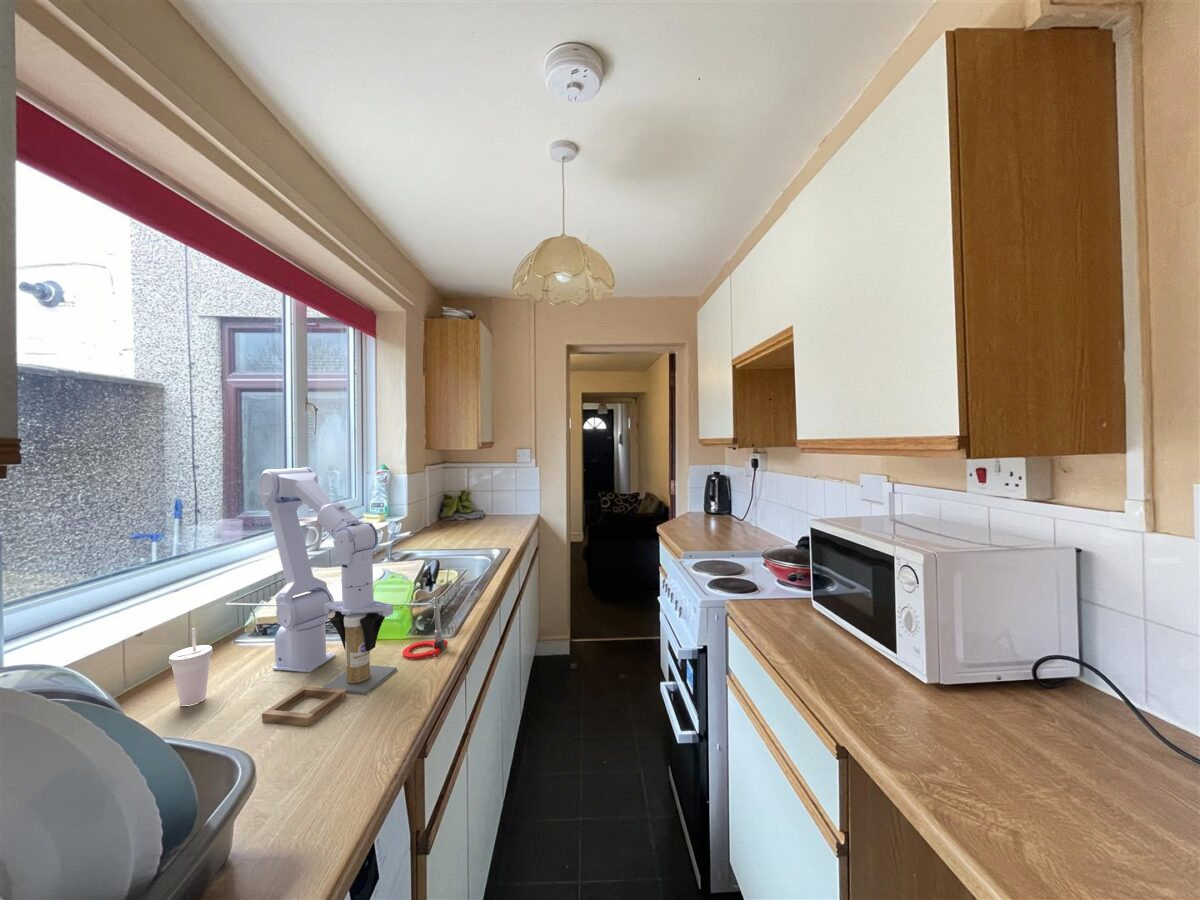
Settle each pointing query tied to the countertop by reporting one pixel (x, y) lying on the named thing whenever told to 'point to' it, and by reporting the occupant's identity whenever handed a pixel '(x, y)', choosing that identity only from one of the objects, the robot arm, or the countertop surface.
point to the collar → (304, 719)
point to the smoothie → (191, 671)
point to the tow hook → (437, 644)
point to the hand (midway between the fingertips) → (359, 648)
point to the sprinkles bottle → (356, 650)
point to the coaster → (366, 686)
